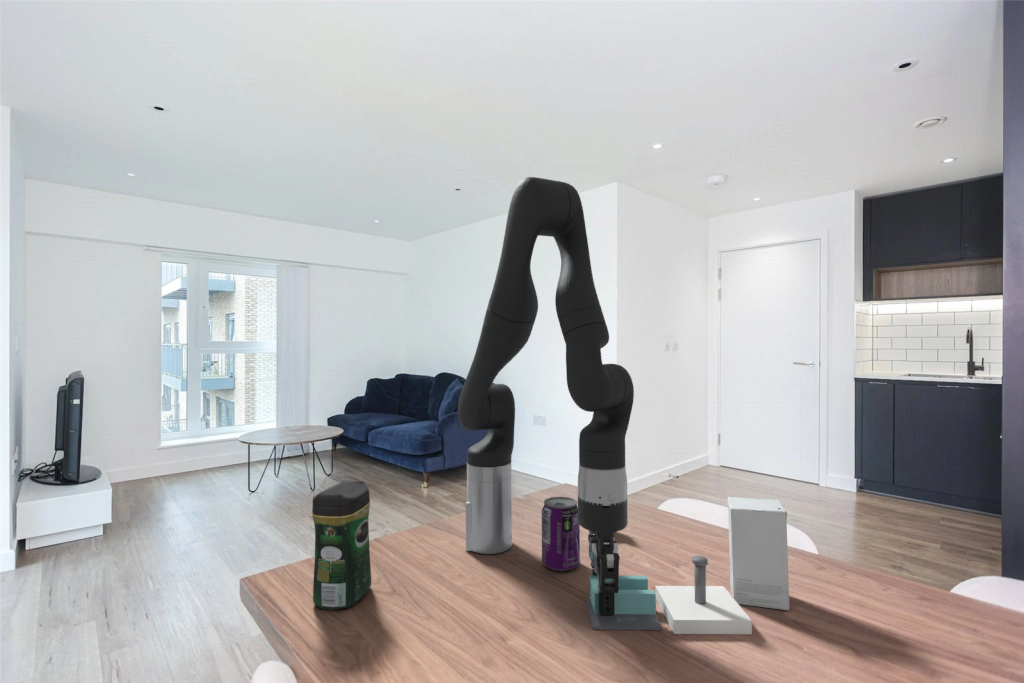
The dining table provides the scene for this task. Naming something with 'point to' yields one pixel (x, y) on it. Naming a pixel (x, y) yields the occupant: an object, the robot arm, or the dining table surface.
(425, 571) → the dining table surface
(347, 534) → the coffee jar
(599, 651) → the dining table surface
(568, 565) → the beverage can
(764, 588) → the skincare box
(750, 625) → the stand
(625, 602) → the c link
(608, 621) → the felt pad
